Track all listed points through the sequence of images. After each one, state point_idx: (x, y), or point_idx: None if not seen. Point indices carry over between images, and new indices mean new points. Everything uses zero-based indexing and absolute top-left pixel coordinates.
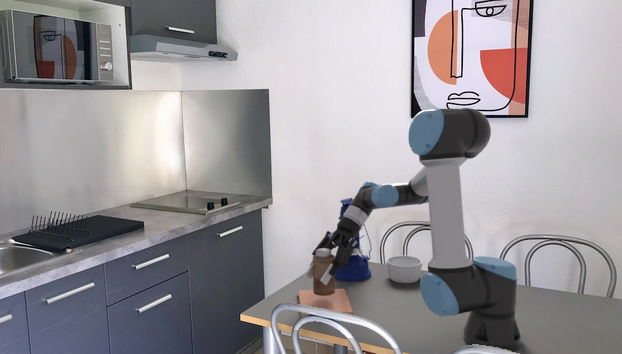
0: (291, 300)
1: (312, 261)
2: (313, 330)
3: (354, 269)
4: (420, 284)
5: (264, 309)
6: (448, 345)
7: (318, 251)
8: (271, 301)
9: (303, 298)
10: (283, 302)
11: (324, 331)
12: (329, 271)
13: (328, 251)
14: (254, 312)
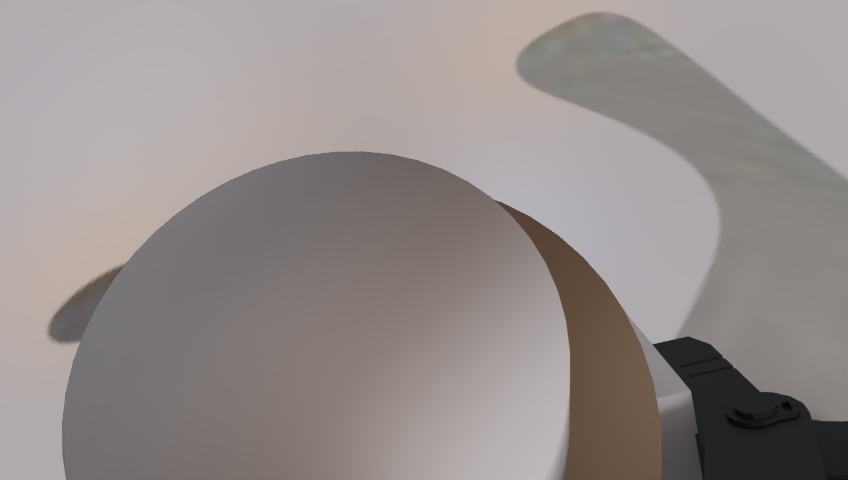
0: (739, 341)
1: (733, 377)
2: (116, 267)
3: None
4: None
5: (629, 104)
6: None
7: (324, 199)
8: (780, 187)
9: None
10: (716, 263)
11: (51, 324)
12: None
13: (124, 454)
14: (605, 41)
